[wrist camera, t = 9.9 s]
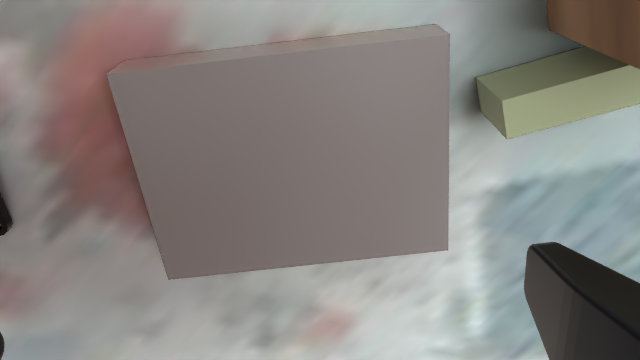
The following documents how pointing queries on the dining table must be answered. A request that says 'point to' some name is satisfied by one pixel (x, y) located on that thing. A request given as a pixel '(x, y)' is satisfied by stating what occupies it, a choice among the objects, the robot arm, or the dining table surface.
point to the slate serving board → (292, 150)
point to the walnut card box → (600, 26)
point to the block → (556, 91)
